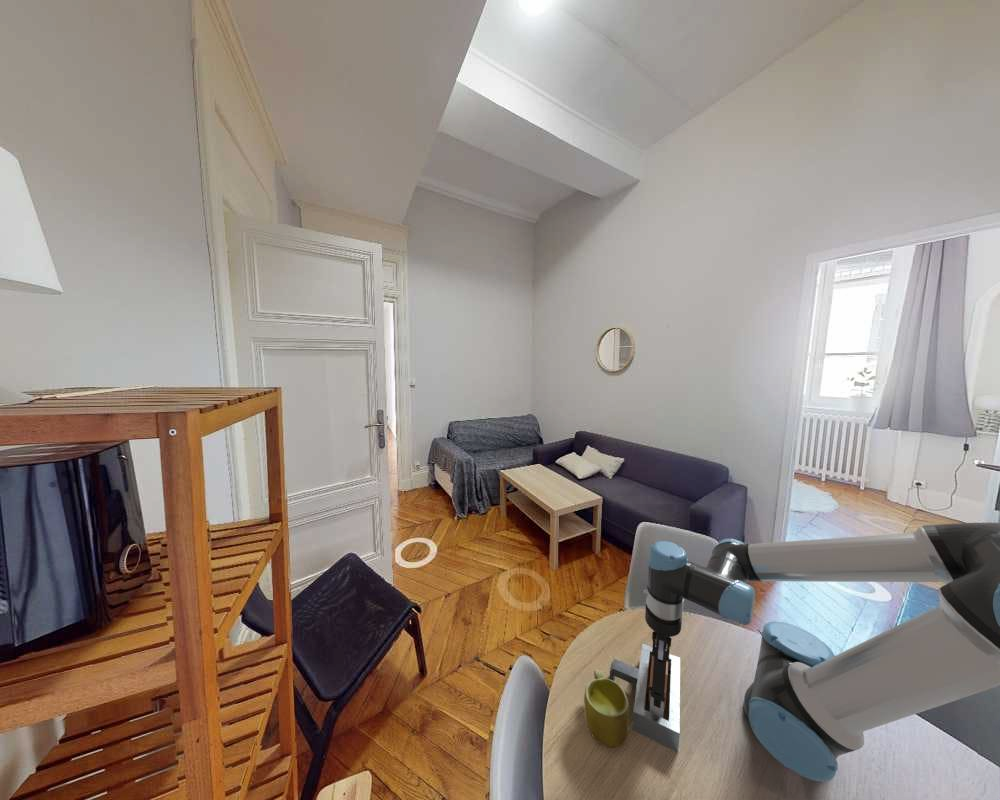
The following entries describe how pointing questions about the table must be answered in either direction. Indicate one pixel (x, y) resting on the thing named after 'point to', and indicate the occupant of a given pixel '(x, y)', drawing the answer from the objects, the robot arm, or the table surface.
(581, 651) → the table surface
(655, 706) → the robot arm
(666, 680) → the terracotta clay brick
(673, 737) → the hollow metal rectangle ring
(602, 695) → the mug
